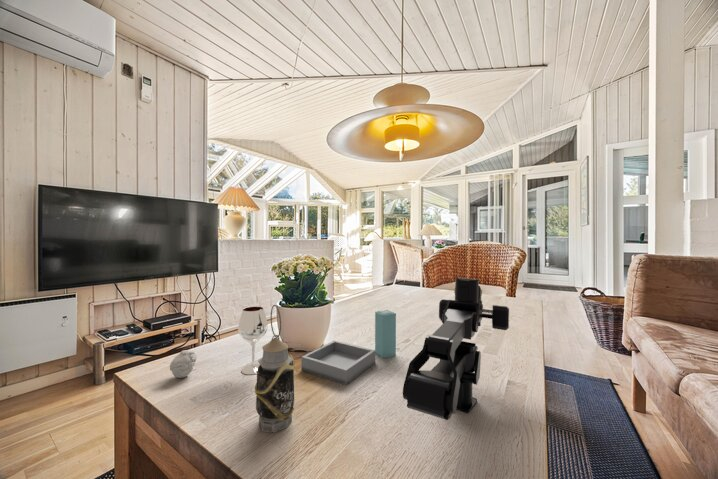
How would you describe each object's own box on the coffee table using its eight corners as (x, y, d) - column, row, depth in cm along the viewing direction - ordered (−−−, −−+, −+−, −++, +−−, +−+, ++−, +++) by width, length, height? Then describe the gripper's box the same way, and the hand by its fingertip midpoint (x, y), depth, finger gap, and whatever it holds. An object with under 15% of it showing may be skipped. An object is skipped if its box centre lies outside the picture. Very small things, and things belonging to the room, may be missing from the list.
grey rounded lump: (201, 372, 85) (201, 348, 85) (180, 384, 78) (180, 358, 78) (185, 369, 87) (185, 346, 87) (163, 380, 80) (163, 355, 80)
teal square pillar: (395, 355, 98) (395, 312, 97) (383, 358, 95) (383, 314, 95) (387, 350, 102) (387, 309, 102) (375, 352, 100) (375, 311, 100)
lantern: (300, 427, 61) (300, 307, 61) (260, 441, 57) (260, 312, 56) (286, 406, 68) (286, 299, 68) (250, 418, 64) (250, 303, 63)
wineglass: (233, 369, 87) (233, 309, 86) (259, 361, 93) (259, 304, 92) (246, 379, 81) (246, 314, 81) (272, 369, 87) (272, 308, 87)
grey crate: (346, 385, 78) (346, 370, 78) (301, 370, 86) (301, 356, 86) (375, 363, 91) (375, 350, 91) (334, 352, 100) (334, 340, 100)
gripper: (507, 290, 74) (511, 287, 88) (434, 283, 84) (447, 282, 97) (506, 334, 73) (510, 325, 87) (432, 323, 83) (446, 316, 96)
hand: (477, 310), depth 92 cm, fingers open, 9 cm apart
